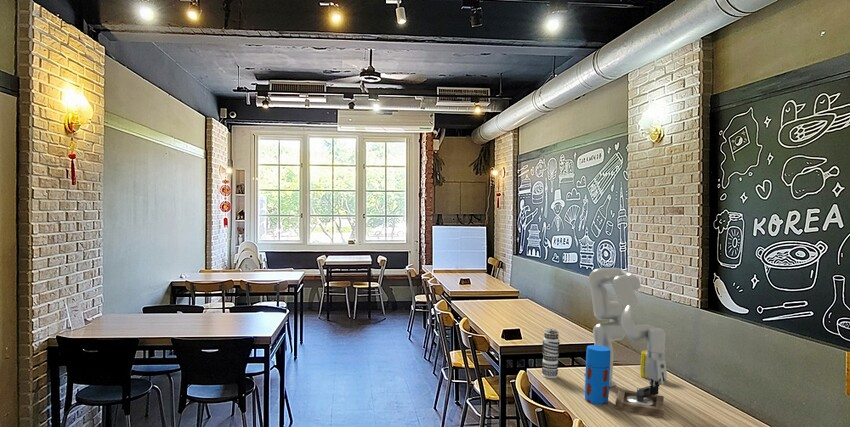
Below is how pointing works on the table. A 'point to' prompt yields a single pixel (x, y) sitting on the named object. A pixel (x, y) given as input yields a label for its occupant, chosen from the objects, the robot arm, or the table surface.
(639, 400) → the dial
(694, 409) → the table surface
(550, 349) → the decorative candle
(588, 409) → the table surface
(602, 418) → the table surface
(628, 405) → the wooden frame
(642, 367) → the food
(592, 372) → the thermos
